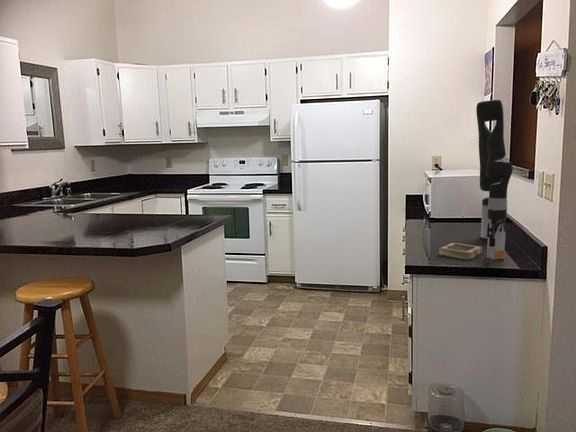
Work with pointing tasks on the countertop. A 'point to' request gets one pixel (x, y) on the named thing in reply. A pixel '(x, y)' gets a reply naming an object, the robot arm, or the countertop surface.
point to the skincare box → (497, 247)
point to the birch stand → (460, 250)
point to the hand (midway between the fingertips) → (495, 244)
